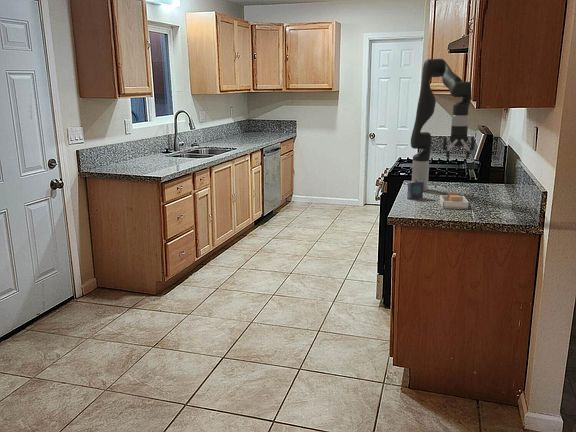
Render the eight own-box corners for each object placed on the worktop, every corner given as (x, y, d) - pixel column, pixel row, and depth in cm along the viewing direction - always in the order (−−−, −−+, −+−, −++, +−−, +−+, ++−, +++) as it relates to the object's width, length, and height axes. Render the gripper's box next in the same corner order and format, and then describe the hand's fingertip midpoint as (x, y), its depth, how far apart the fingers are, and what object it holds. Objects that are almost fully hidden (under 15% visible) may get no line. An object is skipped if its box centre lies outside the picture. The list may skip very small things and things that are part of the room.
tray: (439, 201, 262) (439, 195, 261) (463, 202, 260) (463, 195, 259) (442, 208, 248) (442, 201, 247) (468, 209, 245) (468, 202, 244)
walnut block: (447, 200, 259) (447, 192, 258) (456, 201, 258) (456, 192, 257) (448, 202, 255) (448, 194, 254) (457, 203, 254) (458, 194, 253)
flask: (408, 199, 269) (409, 179, 266) (405, 198, 272) (406, 178, 269) (423, 198, 272) (424, 178, 269) (420, 197, 274) (421, 177, 272)
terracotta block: (450, 205, 248) (450, 196, 247) (449, 203, 253) (449, 195, 251) (459, 206, 247) (460, 197, 246) (458, 204, 252) (459, 195, 251)
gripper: (473, 124, 243) (471, 157, 247) (443, 124, 245) (441, 157, 249) (476, 125, 236) (474, 159, 240) (445, 125, 238) (443, 159, 242)
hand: (457, 158), depth 244 cm, fingers open, 8 cm apart
